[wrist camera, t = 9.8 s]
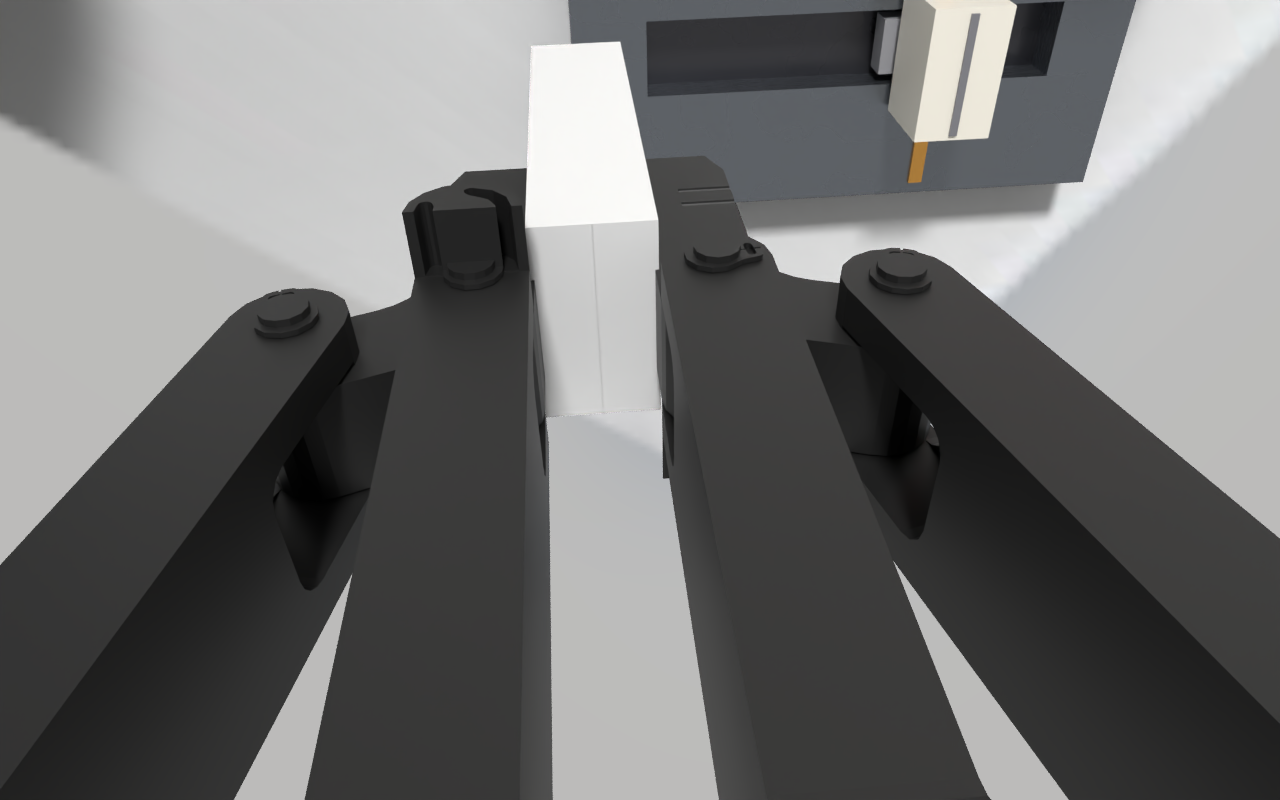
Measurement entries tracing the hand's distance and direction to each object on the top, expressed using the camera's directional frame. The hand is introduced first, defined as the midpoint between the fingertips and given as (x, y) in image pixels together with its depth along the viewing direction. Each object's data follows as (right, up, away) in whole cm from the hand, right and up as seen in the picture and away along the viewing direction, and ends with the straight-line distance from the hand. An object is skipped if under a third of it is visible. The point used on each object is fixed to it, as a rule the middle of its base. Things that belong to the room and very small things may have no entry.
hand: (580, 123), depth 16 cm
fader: (+13, +10, +23) cm, 28 cm away
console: (+10, +11, +24) cm, 28 cm away
